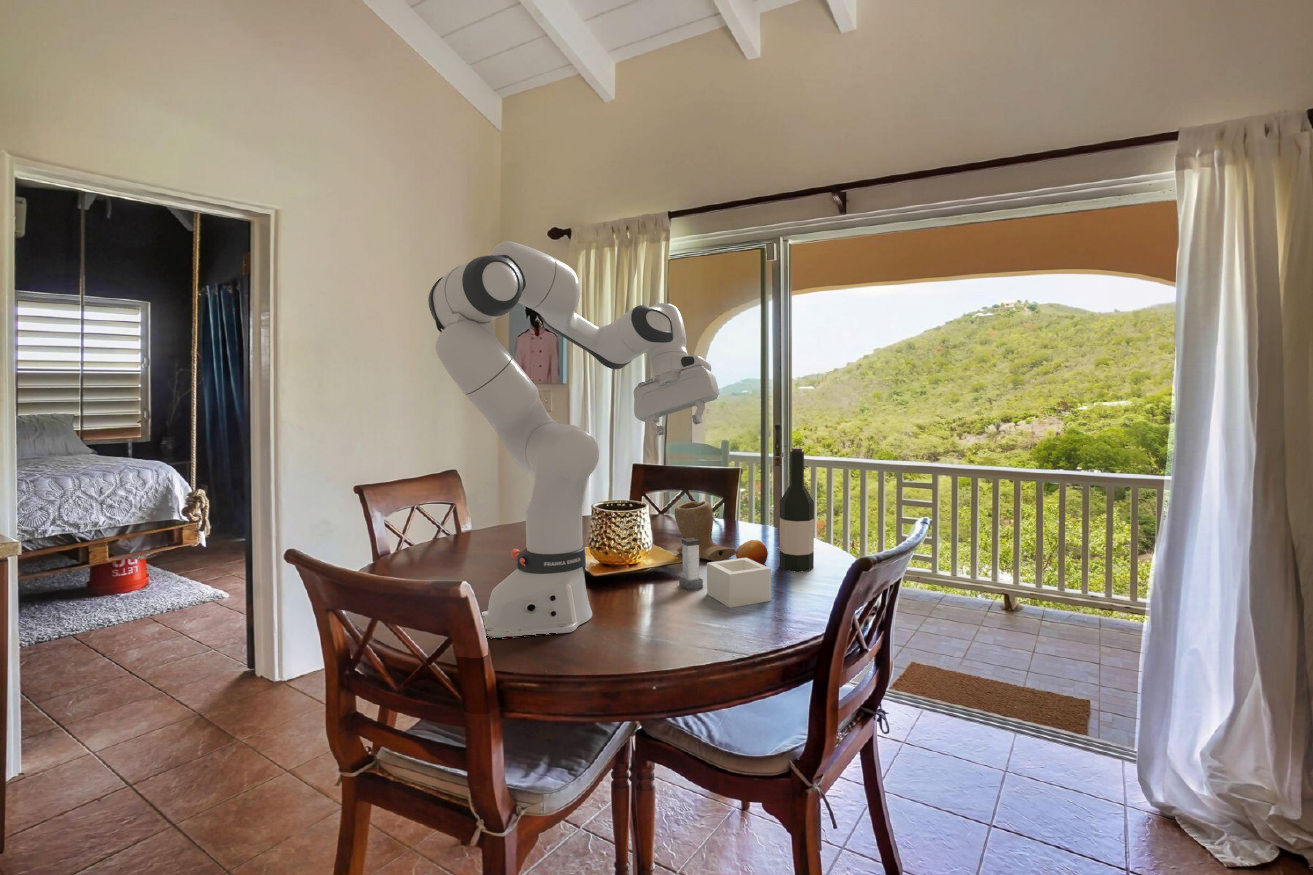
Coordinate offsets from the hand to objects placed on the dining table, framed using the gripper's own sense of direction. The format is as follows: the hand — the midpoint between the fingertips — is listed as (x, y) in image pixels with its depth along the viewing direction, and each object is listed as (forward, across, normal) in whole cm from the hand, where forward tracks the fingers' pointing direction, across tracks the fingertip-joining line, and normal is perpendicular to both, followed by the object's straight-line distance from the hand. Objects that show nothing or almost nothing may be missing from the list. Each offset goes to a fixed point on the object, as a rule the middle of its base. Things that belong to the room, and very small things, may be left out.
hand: (678, 428), depth 146 cm
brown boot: (+23, -17, +37) cm, 47 cm away
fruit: (+28, -2, +35) cm, 45 cm away
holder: (+36, +3, +13) cm, 39 cm away
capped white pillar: (+32, -9, +14) cm, 37 cm away
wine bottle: (+29, +8, +40) cm, 50 cm away
